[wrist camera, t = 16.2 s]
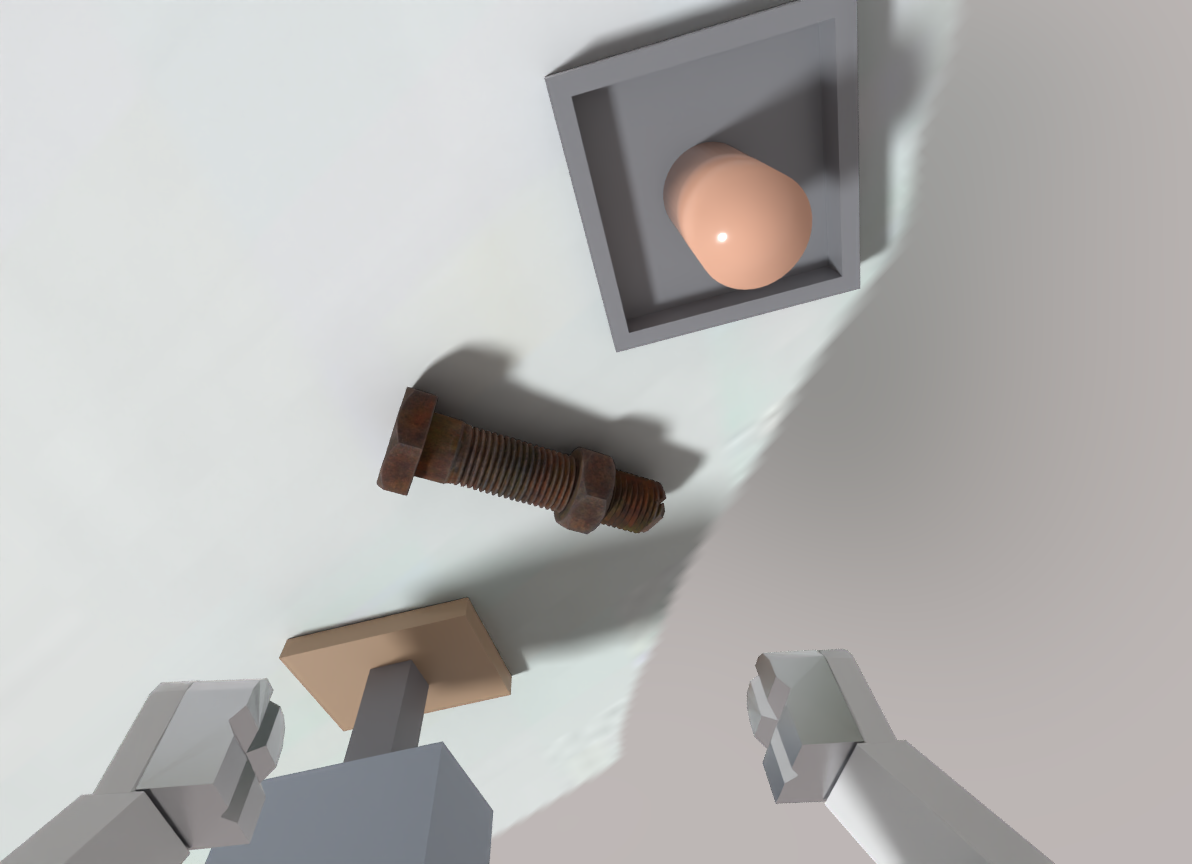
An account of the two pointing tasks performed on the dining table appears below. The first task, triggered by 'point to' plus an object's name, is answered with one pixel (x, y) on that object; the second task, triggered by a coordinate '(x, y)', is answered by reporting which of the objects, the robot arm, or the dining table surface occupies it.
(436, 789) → the mounted unit
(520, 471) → the bolt
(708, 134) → the parts tray
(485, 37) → the dining table surface
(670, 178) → the peach rounded cylinder
